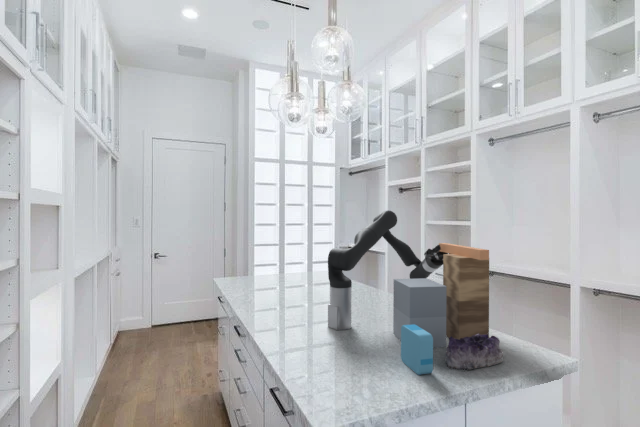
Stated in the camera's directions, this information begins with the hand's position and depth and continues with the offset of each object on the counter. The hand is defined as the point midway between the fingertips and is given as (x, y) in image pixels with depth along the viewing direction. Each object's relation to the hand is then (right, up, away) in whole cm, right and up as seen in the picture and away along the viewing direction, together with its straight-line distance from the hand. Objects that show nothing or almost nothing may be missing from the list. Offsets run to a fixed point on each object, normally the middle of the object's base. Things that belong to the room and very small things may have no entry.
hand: (449, 246), depth 149 cm
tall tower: (+2, -34, -12) cm, 37 cm away
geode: (-5, -35, -35) cm, 50 cm away
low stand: (-17, -34, -15) cm, 41 cm away
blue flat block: (-25, -34, -39) cm, 57 cm away
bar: (+1, -2, -9) cm, 10 cm away
